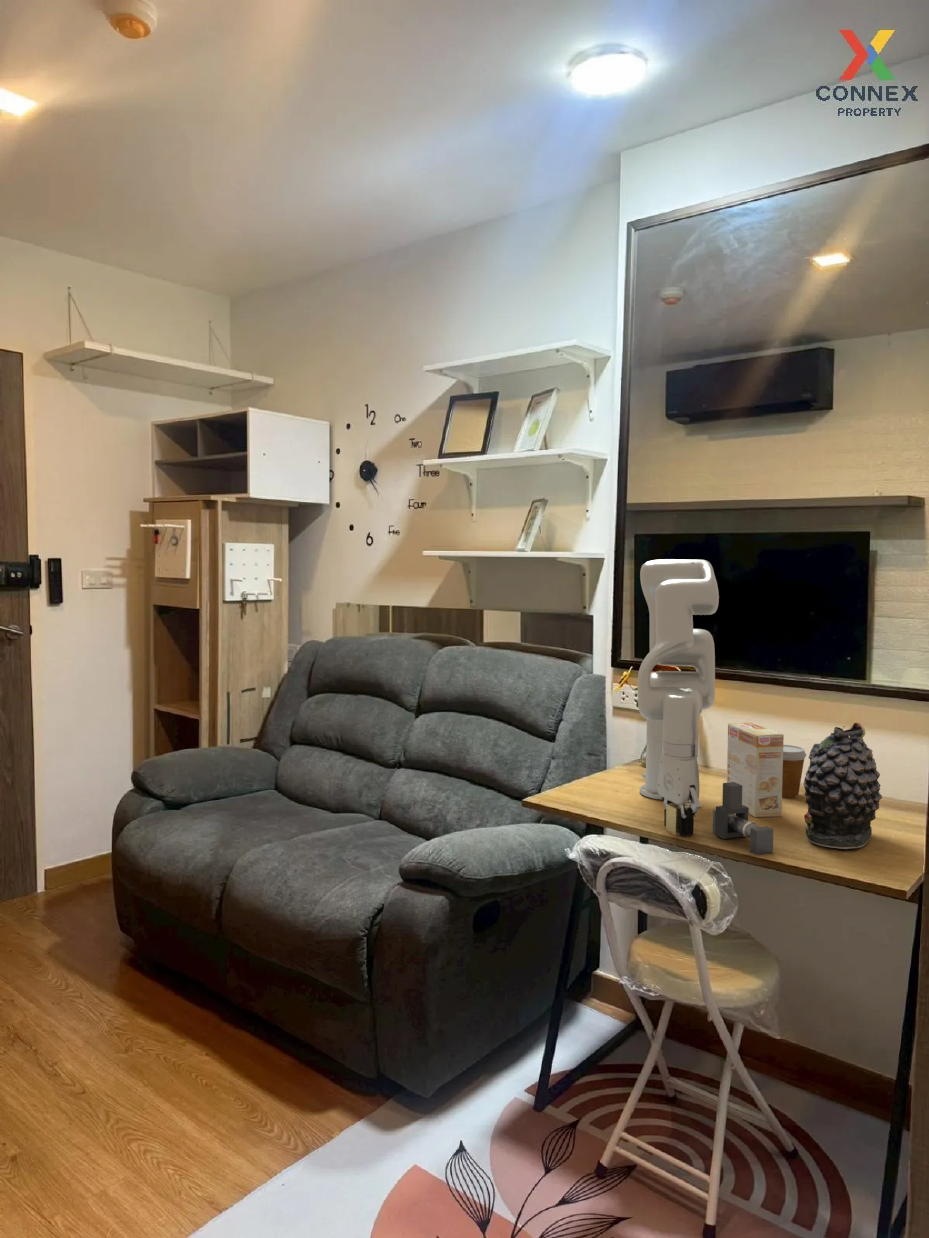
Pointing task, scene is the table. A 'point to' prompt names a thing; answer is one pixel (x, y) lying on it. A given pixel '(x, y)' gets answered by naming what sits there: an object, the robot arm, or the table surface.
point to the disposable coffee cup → (792, 770)
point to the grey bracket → (730, 810)
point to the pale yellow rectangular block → (673, 818)
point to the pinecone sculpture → (841, 790)
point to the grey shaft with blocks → (751, 833)
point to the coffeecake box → (756, 767)
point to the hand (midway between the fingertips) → (678, 829)
